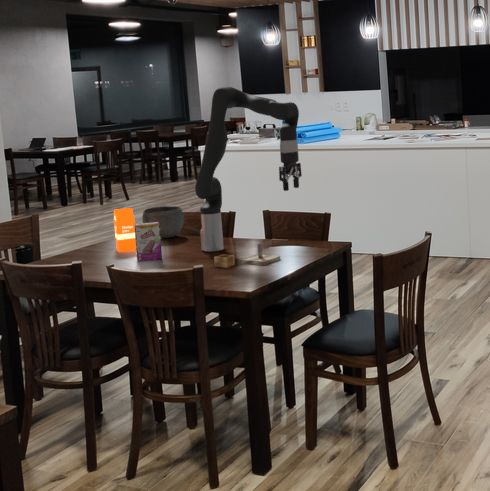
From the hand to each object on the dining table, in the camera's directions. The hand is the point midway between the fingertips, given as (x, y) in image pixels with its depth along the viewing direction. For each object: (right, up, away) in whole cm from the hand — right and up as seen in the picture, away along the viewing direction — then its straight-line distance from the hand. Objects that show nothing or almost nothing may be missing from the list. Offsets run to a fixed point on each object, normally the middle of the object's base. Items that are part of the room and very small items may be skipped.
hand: (291, 189), depth 364 cm
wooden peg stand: (-13, -30, 0) cm, 33 cm away
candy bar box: (-62, -30, +19) cm, 71 cm away
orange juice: (-76, -26, +46) cm, 92 cm away
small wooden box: (-28, -32, -4) cm, 43 cm away
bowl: (-60, -20, +72) cm, 96 cm away
